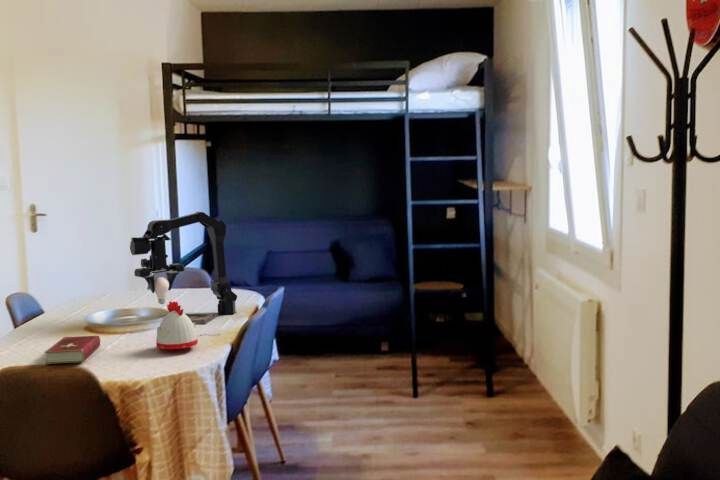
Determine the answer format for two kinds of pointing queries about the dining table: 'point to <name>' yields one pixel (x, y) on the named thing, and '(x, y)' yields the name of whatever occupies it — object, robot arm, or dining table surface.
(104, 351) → the dining table surface
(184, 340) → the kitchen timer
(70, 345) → the hardcover book
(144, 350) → the dining table surface
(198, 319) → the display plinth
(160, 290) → the light bulb
